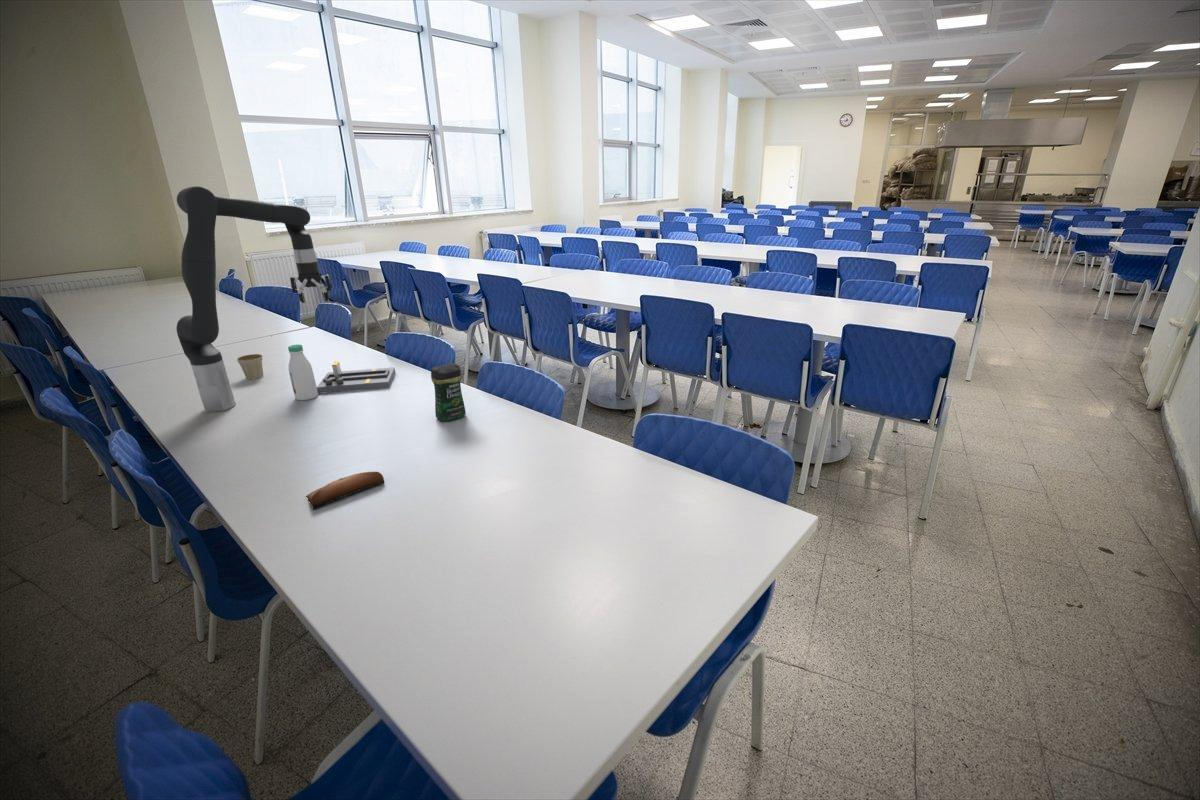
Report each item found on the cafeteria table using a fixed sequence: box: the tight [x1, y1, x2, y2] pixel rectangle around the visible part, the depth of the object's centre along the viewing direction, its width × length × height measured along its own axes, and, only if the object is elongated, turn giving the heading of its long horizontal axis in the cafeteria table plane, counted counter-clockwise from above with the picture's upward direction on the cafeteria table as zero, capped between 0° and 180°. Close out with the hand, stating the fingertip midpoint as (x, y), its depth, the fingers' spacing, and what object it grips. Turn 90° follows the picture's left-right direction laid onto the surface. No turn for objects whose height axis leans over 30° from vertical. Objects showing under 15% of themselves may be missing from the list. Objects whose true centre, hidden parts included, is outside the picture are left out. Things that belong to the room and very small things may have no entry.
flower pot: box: [235, 353, 264, 380], centre depth 221 cm, size 9×9×9 cm
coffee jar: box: [430, 362, 467, 422], centre depth 179 cm, size 10×8×19 cm
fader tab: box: [331, 360, 342, 378], centre depth 211 cm, size 4×2×6 cm, turn 12°
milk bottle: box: [287, 344, 319, 401], centre depth 197 cm, size 8×8×20 cm
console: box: [316, 367, 396, 394], centre depth 214 cm, size 18×26×4 cm
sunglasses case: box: [305, 471, 385, 510], centre depth 139 cm, size 18×7×7 cm
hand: (315, 302), depth 214 cm, fingers open, 8 cm apart
